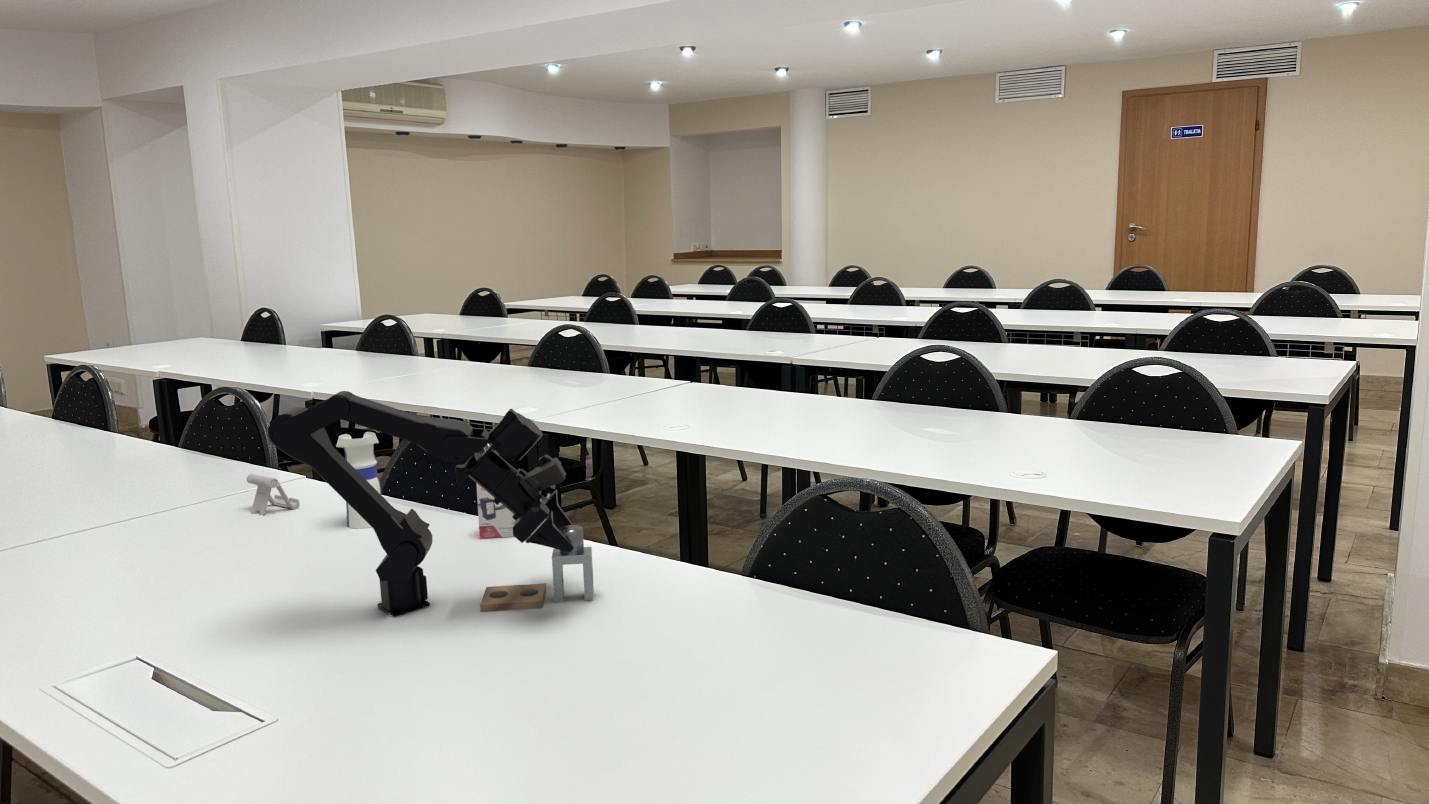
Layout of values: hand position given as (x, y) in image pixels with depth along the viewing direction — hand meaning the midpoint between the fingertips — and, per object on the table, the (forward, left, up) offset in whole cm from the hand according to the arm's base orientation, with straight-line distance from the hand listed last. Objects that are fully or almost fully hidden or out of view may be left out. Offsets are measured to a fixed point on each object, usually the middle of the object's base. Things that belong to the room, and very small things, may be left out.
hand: (573, 540), depth 160 cm
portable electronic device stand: (-16, +94, -10) cm, 96 cm away
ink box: (+10, +39, -10) cm, 42 cm away
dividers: (0, 0, -10) cm, 10 cm away
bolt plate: (-8, +6, -10) cm, 14 cm away
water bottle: (-6, +68, -10) cm, 69 cm away
